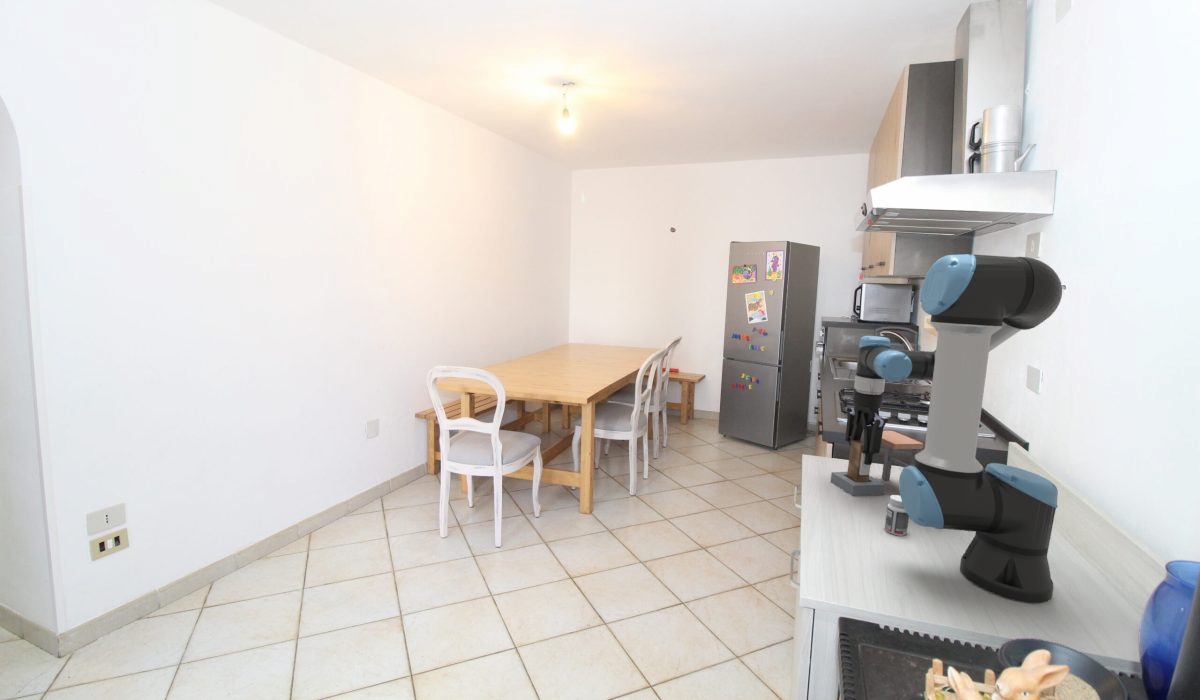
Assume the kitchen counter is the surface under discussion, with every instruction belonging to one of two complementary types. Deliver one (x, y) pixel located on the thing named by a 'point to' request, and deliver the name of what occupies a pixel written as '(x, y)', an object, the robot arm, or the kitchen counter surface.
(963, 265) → the robot arm
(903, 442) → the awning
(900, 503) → the pill bottle
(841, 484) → the socket block
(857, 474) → the peg
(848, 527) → the kitchen counter surface
